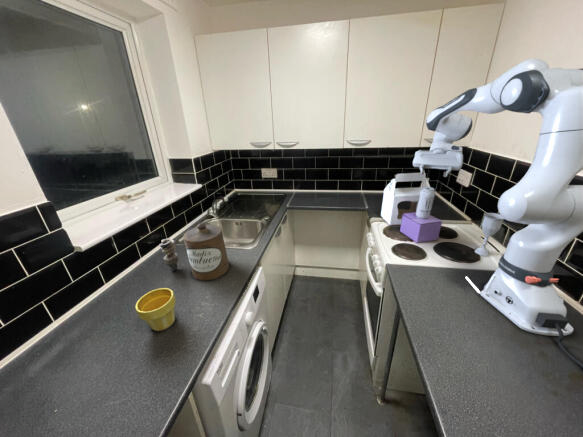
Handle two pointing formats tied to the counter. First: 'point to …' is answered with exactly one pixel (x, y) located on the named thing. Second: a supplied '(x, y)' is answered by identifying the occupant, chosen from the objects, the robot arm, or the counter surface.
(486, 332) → the counter surface
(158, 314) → the flower pot
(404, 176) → the gable box
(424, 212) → the energy drink can
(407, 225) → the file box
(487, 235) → the chalice
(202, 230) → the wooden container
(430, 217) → the flap
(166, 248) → the grey tall piece
